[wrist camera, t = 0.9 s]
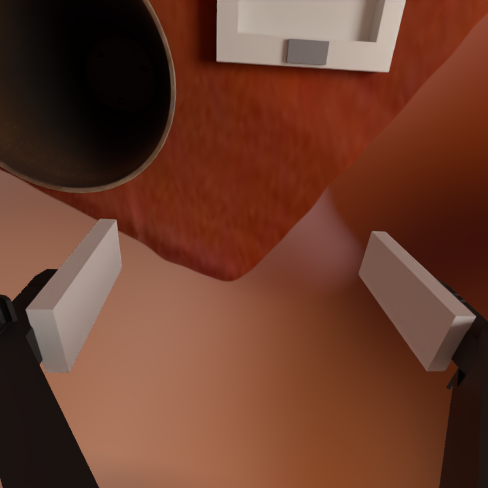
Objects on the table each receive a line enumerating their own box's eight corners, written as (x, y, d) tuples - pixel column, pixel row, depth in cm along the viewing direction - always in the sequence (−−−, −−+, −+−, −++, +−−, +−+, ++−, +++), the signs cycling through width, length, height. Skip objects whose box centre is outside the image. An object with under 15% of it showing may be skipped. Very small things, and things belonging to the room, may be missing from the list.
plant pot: (128, 174, 38) (76, 231, 24) (16, 64, 32) (-142, 54, 18) (221, 89, 34) (223, 98, 20) (115, -53, 28) (13, -181, 14)
